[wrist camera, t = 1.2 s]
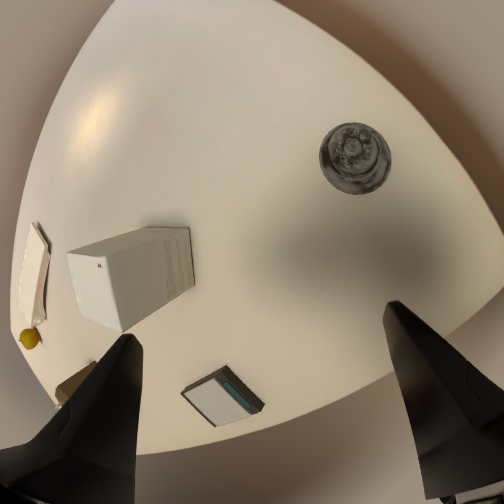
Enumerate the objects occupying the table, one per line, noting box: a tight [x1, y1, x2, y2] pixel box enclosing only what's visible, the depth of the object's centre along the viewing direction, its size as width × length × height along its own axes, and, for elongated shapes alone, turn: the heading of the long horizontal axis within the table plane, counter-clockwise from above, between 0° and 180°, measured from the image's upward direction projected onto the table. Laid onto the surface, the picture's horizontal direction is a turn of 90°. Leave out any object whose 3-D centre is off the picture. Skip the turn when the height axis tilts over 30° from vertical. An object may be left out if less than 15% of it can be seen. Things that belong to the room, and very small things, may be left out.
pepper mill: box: [319, 122, 391, 195], centre depth 18 cm, size 6×6×12 cm
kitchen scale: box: [180, 366, 264, 427], centre depth 36 cm, size 11×8×2 cm
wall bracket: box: [18, 222, 50, 328], centre depth 52 cm, size 10×7×28 cm
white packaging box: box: [67, 227, 194, 333], centre depth 28 cm, size 7×7×13 cm
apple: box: [18, 329, 40, 350], centre depth 62 cm, size 6×6×8 cm
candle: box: [55, 361, 97, 409], centre depth 45 cm, size 14×14×15 cm
